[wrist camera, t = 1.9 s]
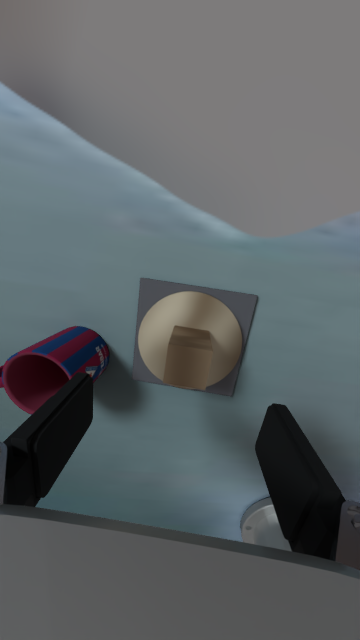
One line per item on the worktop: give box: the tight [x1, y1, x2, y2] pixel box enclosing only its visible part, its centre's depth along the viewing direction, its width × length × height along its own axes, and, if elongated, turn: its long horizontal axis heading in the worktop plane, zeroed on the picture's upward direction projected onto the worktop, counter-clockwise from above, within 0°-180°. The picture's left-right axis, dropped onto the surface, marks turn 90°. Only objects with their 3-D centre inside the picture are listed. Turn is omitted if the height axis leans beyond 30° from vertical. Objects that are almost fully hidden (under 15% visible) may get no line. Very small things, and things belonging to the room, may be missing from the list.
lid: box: [138, 291, 242, 390], centre depth 19 cm, size 11×11×6 cm
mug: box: [0, 326, 109, 415], centre depth 20 cm, size 7×10×7 cm
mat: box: [132, 278, 257, 396], centre depth 22 cm, size 12×12×1 cm
